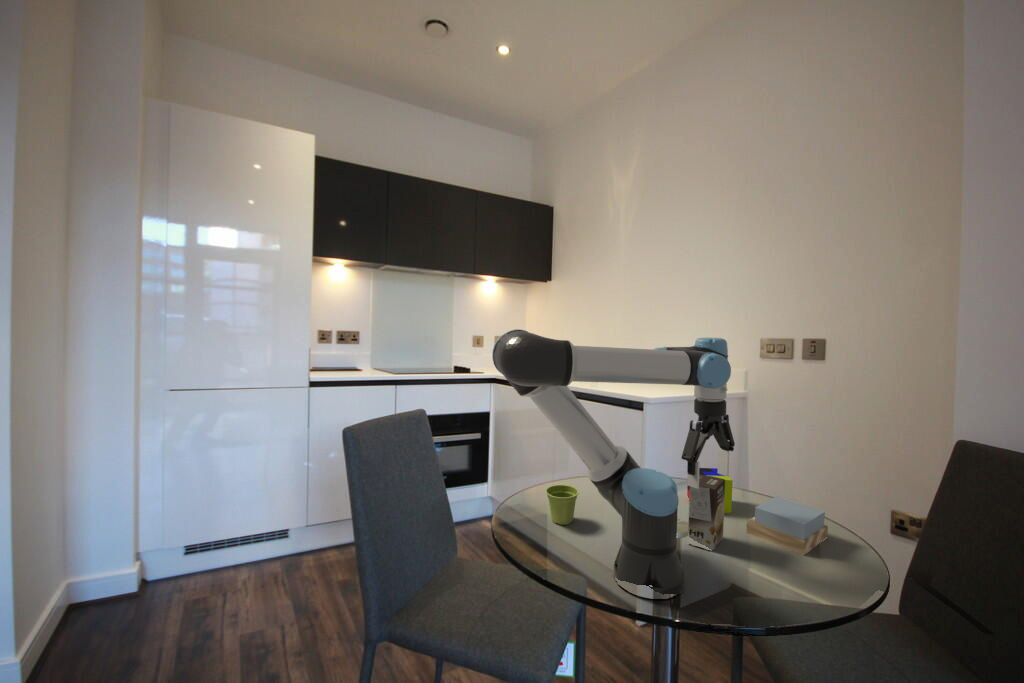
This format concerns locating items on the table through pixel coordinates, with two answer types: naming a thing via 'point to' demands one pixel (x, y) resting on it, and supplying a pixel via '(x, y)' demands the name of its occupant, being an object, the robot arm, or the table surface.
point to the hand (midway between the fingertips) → (708, 480)
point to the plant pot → (562, 503)
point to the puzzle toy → (728, 486)
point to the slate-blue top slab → (790, 517)
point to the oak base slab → (786, 537)
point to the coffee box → (707, 511)
